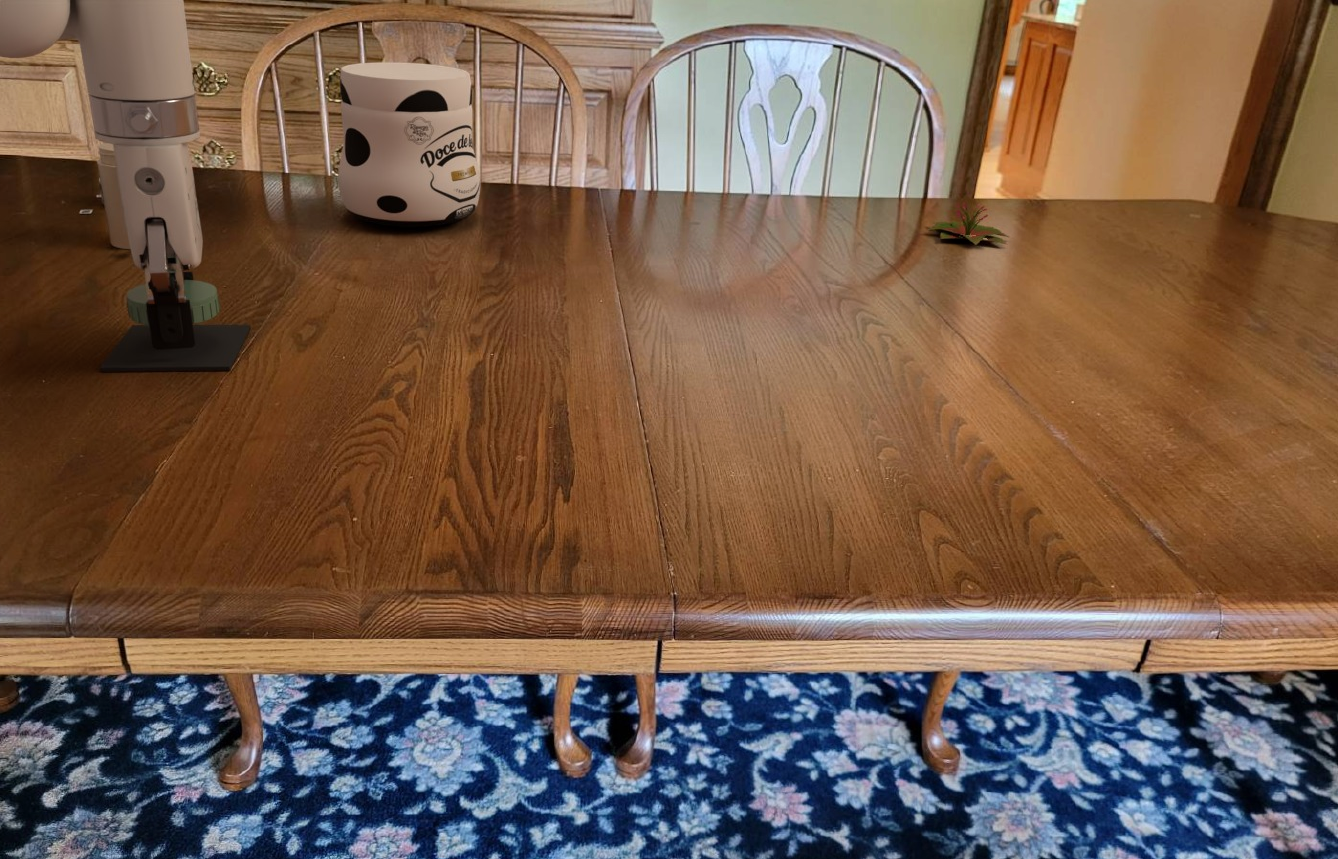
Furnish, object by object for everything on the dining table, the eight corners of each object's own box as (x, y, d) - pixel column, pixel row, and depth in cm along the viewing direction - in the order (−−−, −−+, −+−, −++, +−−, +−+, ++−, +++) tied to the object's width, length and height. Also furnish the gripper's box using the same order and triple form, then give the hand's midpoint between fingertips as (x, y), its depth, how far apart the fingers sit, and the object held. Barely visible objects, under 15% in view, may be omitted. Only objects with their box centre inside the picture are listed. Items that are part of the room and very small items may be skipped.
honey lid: (227, 300, 93) (224, 279, 93) (210, 327, 87) (208, 305, 86) (141, 299, 92) (138, 278, 91) (118, 327, 86) (114, 304, 85)
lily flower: (1001, 229, 149) (1008, 197, 147) (1021, 253, 138) (1028, 218, 136) (916, 222, 149) (922, 190, 147) (929, 245, 139) (935, 211, 137)
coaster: (99, 372, 86) (99, 367, 85) (132, 328, 94) (132, 324, 94) (230, 370, 88) (229, 366, 87) (250, 328, 96) (250, 324, 96)
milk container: (484, 237, 128) (483, 84, 121) (336, 236, 125) (325, 78, 117) (477, 202, 144) (475, 64, 136) (345, 200, 140) (335, 58, 132)
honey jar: (103, 249, 115) (86, 150, 110) (119, 233, 120) (104, 138, 116) (166, 250, 116) (152, 152, 111) (179, 234, 121) (166, 140, 117)
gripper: (194, 139, 77) (223, 366, 84) (200, 100, 91) (224, 296, 99) (78, 139, 74) (119, 373, 82) (103, 99, 89) (135, 301, 96)
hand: (176, 329), depth 90 cm, fingers closed on honey lid, 6 cm apart
